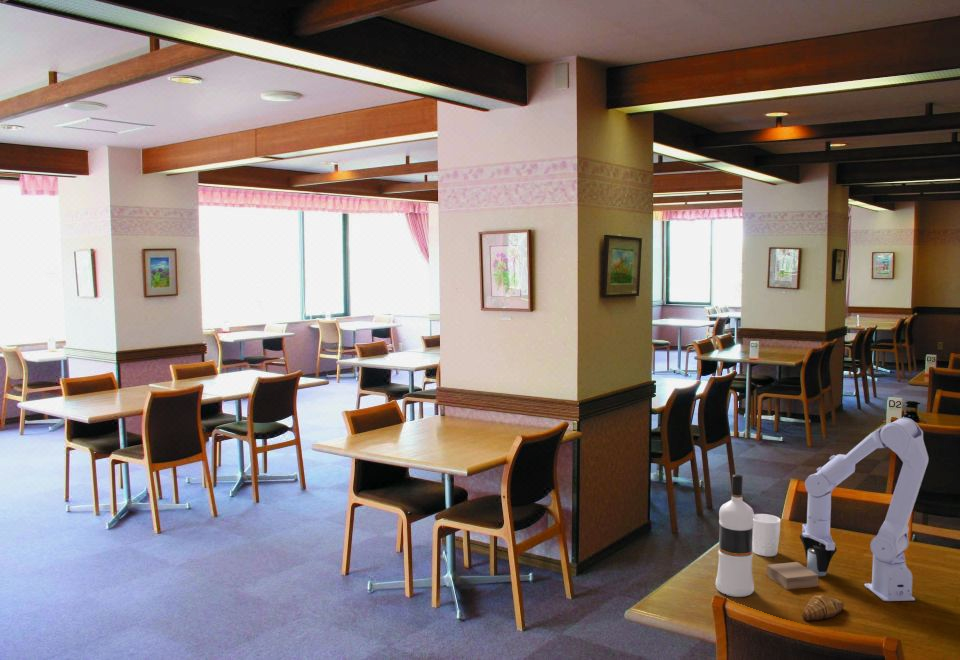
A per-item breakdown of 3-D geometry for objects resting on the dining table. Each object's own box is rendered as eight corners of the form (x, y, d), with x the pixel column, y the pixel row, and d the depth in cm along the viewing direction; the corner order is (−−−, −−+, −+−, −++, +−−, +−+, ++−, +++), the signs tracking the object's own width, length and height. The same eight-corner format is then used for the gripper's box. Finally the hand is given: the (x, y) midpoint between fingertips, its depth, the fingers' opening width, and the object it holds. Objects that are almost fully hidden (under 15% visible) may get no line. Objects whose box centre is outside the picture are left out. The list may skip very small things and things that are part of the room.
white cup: (775, 547, 230) (776, 514, 229) (782, 558, 222) (783, 523, 221) (747, 546, 231) (748, 513, 230) (753, 557, 223) (754, 522, 222)
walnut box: (817, 586, 203) (818, 575, 203) (786, 589, 201) (786, 578, 201) (796, 572, 212) (797, 561, 212) (766, 575, 210) (766, 564, 210)
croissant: (828, 603, 194) (829, 584, 193) (853, 614, 188) (854, 594, 188) (791, 616, 187) (792, 596, 187) (816, 628, 181) (817, 607, 181)
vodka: (713, 594, 198) (715, 477, 196) (717, 580, 207) (720, 468, 204) (752, 601, 195) (755, 481, 192) (755, 586, 203) (758, 472, 200)
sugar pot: (829, 576, 210) (830, 553, 209) (811, 576, 209) (812, 553, 209) (821, 568, 214) (822, 546, 214) (803, 569, 214) (804, 546, 214)
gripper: (792, 508, 217) (790, 556, 219) (816, 526, 203) (814, 578, 204) (817, 508, 218) (815, 556, 219) (843, 526, 203) (841, 577, 205)
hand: (816, 566), depth 212 cm, fingers open, 6 cm apart
